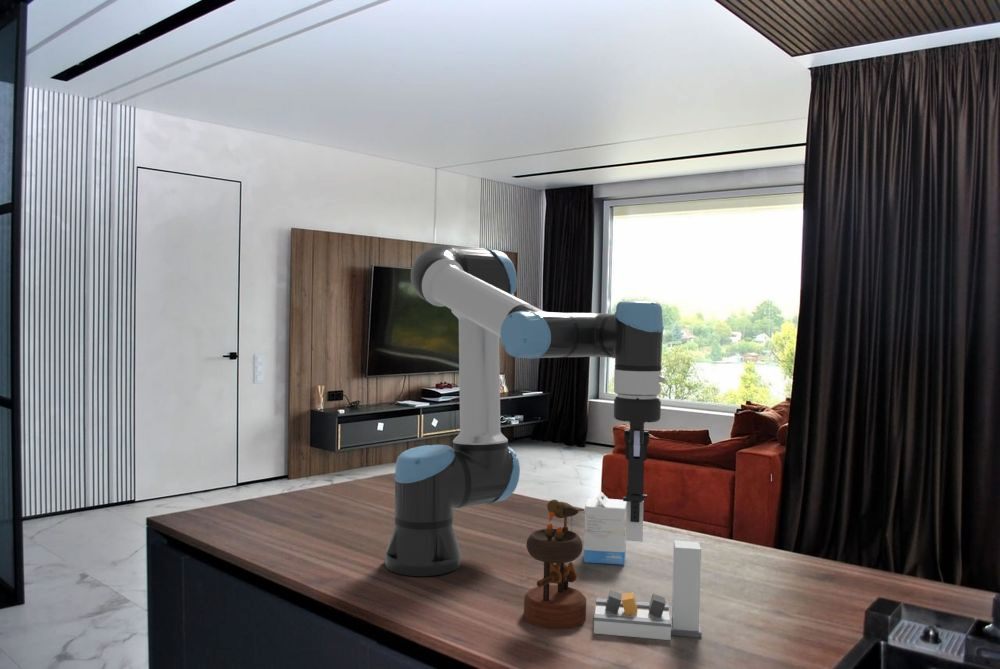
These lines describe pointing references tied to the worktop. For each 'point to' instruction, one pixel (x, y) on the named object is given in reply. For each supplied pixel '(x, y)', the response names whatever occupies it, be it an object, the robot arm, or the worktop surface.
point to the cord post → (686, 589)
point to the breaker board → (632, 622)
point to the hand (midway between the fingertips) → (634, 539)
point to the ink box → (605, 530)
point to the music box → (556, 574)
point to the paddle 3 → (656, 605)
